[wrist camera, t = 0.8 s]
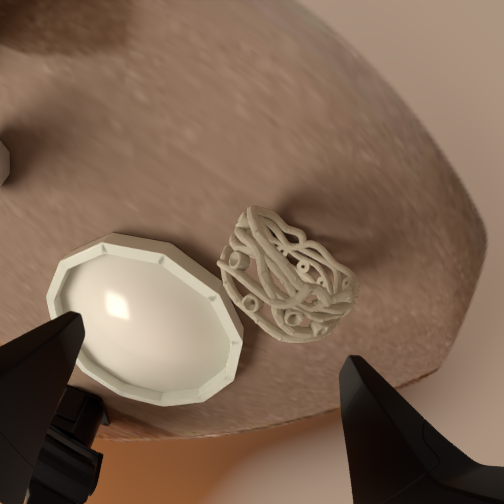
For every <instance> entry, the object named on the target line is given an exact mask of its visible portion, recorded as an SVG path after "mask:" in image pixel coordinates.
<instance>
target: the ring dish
mask: <svg viewBox="0 0 504 504" xmlns="http://www.w3.org/2000/svg"><path fill="white" fill-rule="evenodd" d="M46 299H47V304H48V308H49V312H50V317H51V320H52V319H54V318H56V317H58V316H60V315H62V314H64V313H66V312H68V311H75V312H78V313H80V314H81V315H82V319H83V323H84V328H85V338H84V341H83V344H82V346H81V349H80V352H79V355H78V358H77V361H76V364H77V365H78V366H79V368H80V369H81V370H82V371H83V372H84V373H86V374H87V375H89V376H90V377H92V378H93V379H95V380H96V381H98V382H99V383H101V384H102V385H104V386H106V387H107V388H109V389H110V390H112V391H114V392H115V393H117V394H119V395H120V396H123V397H127V398H131V399H134V400H138V401H142V402H146V403H150V404H154V405H159V406H173V405H183V404H191V403H199V402H204V401H206V400H207V399H208V398H210V397H211V396H213V395H214V394H216V393H217V392H218V391H220V390H221V389H223V388H224V387H225V386H227V385H228V384H229V383H231V382H232V381H234V377H235V373H236V369H237V365H238V361H239V356H240V352H241V348H242V344H243V331H244V327H243V325H242V323H241V321H240V319H239V317H238V315H237V313H236V311H235V308H234V306H233V304H232V302H231V300H230V298H229V296H228V293H227V291H226V289H225V287H224V286H223V283H222V281H221V280H220V279H218V278H217V277H216V276H214V275H213V274H212V273H210V272H209V271H207V270H206V269H205V268H203V267H202V266H201V265H199V264H198V263H197V262H195V261H194V260H193V259H191V258H190V257H189V256H187V255H186V254H185V253H183V252H182V251H181V250H179V249H178V248H177V247H175V246H174V245H173V244H171V243H168V242H162V241H157V240H151V239H145V238H140V237H134V236H129V235H123V234H118V233H110V234H108V235H106V236H104V237H101V238H99V239H97V240H95V241H93V242H90V243H88V244H86V245H84V246H82V247H79V248H77V249H75V250H73V251H71V252H70V253H69V254H68V255H67V256H65V257H64V258H63V259H62V260H61V261H60V263H59V265H58V268H57V270H56V273H55V275H54V278H53V280H52V283H51V285H50V288H49V291H48V293H47V296H46Z"/></svg>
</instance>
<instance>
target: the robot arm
mask: <svg viewBox="0 0 504 504" xmlns="http://www.w3.org/2000/svg"><path fill="white" fill-rule="evenodd" d="M84 338H85V328H84V323H83V319H82V315H81V314H80V313H78V312H75V311H68V312H66V313H64V314H62V315H60V316H58V317H56V318H54V319H52V320H51V321H49V322H47V323H45V324H43V325H41V326H39V327H37V328H35V329H33V330H31V331H29V332H27V333H25V334H23V335H21V336H20V337H18V338H16V339H14V340H12V341H10V342H8V343H6V344H4V345H2V346H1V347H0V502H1V503H2V504H23V503H24V500H25V496H26V498H27V500H26V503H25V504H84V503H85V502H86V501H87V498H88V496H91V495H92V493H93V492H94V490H95V488H96V486H97V483H98V478H99V473H100V469H101V464H102V459H103V454H101V453H98V452H96V451H95V450H93V449H91V447H92V444H93V441H94V438H95V436H96V433H97V431H98V428H99V426H100V424H102V425H105V426H109V425H110V422H109V419H108V416H107V412H106V409H105V406H104V403H103V400H102V399H101V398H100V397H97V396H94V395H91V394H88V393H85V392H83V391H80V390H77V389H74V388H72V387H69V386H66V385H67V383H68V381H69V379H70V377H71V374H72V372H73V369H74V366H75V363H76V361H77V358H78V355H79V352H80V349H81V346H82V344H83V341H84ZM339 384H340V402H341V417H342V424H343V429H344V436H345V443H346V450H347V457H348V463H349V471H350V479H351V487H352V495H353V504H504V467H499V466H487V465H482V464H479V463H477V462H475V461H473V460H472V459H471V458H469V457H468V456H467V455H466V454H464V453H463V452H462V451H461V450H459V449H458V448H457V447H456V446H454V445H453V444H452V443H451V442H450V441H448V440H447V439H446V438H445V437H444V436H442V435H441V434H440V433H439V432H438V431H437V430H436V429H435V428H434V427H433V426H432V425H431V424H430V423H429V422H428V421H426V420H425V419H424V418H423V417H422V416H421V415H420V414H419V413H418V412H417V411H416V410H415V409H414V408H413V407H412V406H411V405H410V404H409V403H408V402H407V401H406V400H405V399H404V398H403V397H402V396H401V395H400V394H399V393H398V392H397V391H396V390H395V389H394V388H393V387H392V386H391V385H390V384H389V383H388V382H387V381H386V380H385V379H384V378H383V377H382V376H381V375H380V374H379V373H378V372H377V371H376V370H375V369H374V368H373V367H372V366H371V365H370V364H369V363H368V362H367V361H366V360H365V359H363V358H362V357H361V356H359V355H349V356H348V357H347V359H346V361H345V363H344V365H343V367H342V369H341V371H340V374H339ZM61 397H62V398H61ZM60 399H61V400H60ZM59 401H60V402H59Z"/></svg>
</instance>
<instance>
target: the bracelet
mask: <svg viewBox="0 0 504 504" xmlns="http://www.w3.org/2000/svg"><path fill="white" fill-rule="evenodd" d="M272 220H273V221H274V222H275V223H274V222H273V221H272ZM267 227H268V228H270V229H271V230H272V231H273V232H274V233H275V235H276V236H277V238H278V239H277V238H275V237H273V236H272V234H271V233H270V231H269V229H268V228H267ZM282 231H284V232H285V233H288V234H292V235H295V236H297V237H298V238H299V243H290V242H289V241H288V240H287V239H286V237H285V235H284V234H283V232H282ZM251 233H252V234H253V237H254V238H255V239H254V238H253V237H252V236H250V234H251ZM240 241H242V242H243V243H244V244H241V243H240ZM229 244H230V245H226V246H225V247H224V249H223V251H222V254H221V256H220V260H218V261H217V265H218V266H219V267H220V268H221V274H222V280H223V286H224V287H225V289H226V291H227V293H228V295H229V297H230V298H231V299H232V301H233V302H234V304H236V305H237V306H238V307H239V308H240V309H242V310H243V311H244V312H245V313H246V314H247V315H248V316H249V317H251V318H252V319H253V320H254V321H255V323H256V324H258V325H259V326H260V327H261V328H262V329H263V330H264V331H266V332H267V333H268V334H270V335H271V336H273V337H274V338H276V339H278V340H279V341H284V342H293V343H304V342H310V341H318V340H320V339H322V338H324V337H326V336H327V335H330V334H332V331H333V330H334V328H335V327H336V326H337V325H338V324H339V320H340V317H343V316H346V315H347V314H348V313H349V312H350V310H351V309H352V308H353V306H354V304H355V299H356V298H357V297H358V296H357V295H358V292H359V287H360V285H359V283H358V280H357V277H356V276H355V274H354V273H353V272H352V271H351V269H349V268H348V267H346V266H344V265H342V264H340V263H338V262H337V261H336V260H335V259H334V258H333V257H332V256H331V255H330V253H329V252H328V251H327V250H326V248H325V247H324V246H323V245H321V244H320V243H318V242H316V241H313V240H307V238H306V235H305V233H304V232H303V231H302V230H300V229H298V228H296V227H292V226H289V225H287V224H286V223H285V222H284V221H283V220H282V219H281V217H280V216H279V215H278V214H277V213H275V212H273V211H271V210H268V209H266V208H263V207H259V206H257V205H254V204H253V205H251V206H250V207H248V208H247V214H246V213H242V214H241V216H240V217H239V219H238V221H237V223H236V226H235V230H234V232H233V233H232V234H231V237H230V242H229ZM275 244H277V245H276V246H275ZM308 247H311V248H314V249H316V250H318V251H319V252H320V253H321V254H322V256H321V255H320V254H318V253H316V252H314V251H312V250H310V249H308ZM280 250H284V251H283V252H281V251H280ZM295 250H298V251H300V252H302V253H304V254H306V255H308V256H310V257H312V258H313V259H315V260H317V261H319V262H320V263H322V264H324V265H326V266H327V267H329V268H330V269H331V270H332V271H333V274H334V288H333V287H332V282H331V279H329V277H328V275H327V273H326V271H325V270H324V269H323V268H322V266H321V265H320V264H319V263H318V262H316V261H314V260H312V259H310V258H307V257H304V256H302V255H300V254H299V253H298V252H296V251H295ZM288 253H290V254H291V255H292V256H294V257H295V258H296V259H298V260H300V261H299V262H298V264H297V267H296V266H294V265H293V264H291V263H290V262H289V261H288V260H287V258H286V256H287V254H288ZM249 257H251V258H254V259H256V262H257V270H258V276H259V278H260V281H261V284H262V286H261V285H260V284H259V283H258V282H256V281H255V280H254V279H253V278H251V277H250V276H249V275H248V274H246V273H245V272H244V271H243V270H246V269H247V268H248V267H249V264H250V258H249ZM302 265H305V268H303V267H302ZM311 265H312V266H313V267H315V268H316V270H317V271H318V272H319V273H320V275H321V276H322V277H319V278H318V280H317V281H316V280H315V279H314V278H313V277H312V276H311V275H310V274H309V273H307V271H309V270H310V268H311ZM270 270H271V271H272V272H273V273H274V274H275V275H276V276H277V278H278V279H279V280H280V282H281V283H282V284H283V286H284V287H285V288H286V291H287V293H288V295H287V294H286V293H284V292H283V291H281V290H280V289H279V288H278V287H277V286H276V284H275V283H274V281H273V279H272V277H271V275H270ZM341 272H343V273H344V274H345V275H347V277H346V278H345V279H344V281H343V283H342V279H343V278H342V276H341ZM232 276H234V277H235V278H236V279H237V280H238V281H239V282H240V283H242V284H243V285H244V286H245V287H246V288H248V289H249V290H250V291H251V293H250V294H248V295H247V296H245V297H243V296H242V295H241V294H240V293H239V292H238V290H237V288H236V286H235V284H234V282H233V279H232ZM341 285H342V288H343V289H345V290H344V291H341ZM310 294H314V295H317V297H318V300H317V299H315V300H313V301H312V303H307V302H305V301H304V300H305V299H306V298H308V296H309V295H310ZM254 301H255V303H254ZM264 302H265V303H267V304H268V305H270V306H271V309H272V314H273V317H274V319H275V321H276V323H277V324H278V326H279V327H280V328H281V329H280V328H278V327H277V326H275V325H274V324H272V323H271V322H270V321H269V320H268V319H267V318H266V317H265V316H264V315H262V314H261V313H260V312H259V311H258V310H259V309H260V308H262V306H263V304H264ZM283 309H284V311H283ZM315 311H322V312H315ZM303 316H305V317H307V318H309V319H311V320H312V321H311V322H310V324H309V327H300V326H297V325H299V324H300V323H302V321H303Z"/></svg>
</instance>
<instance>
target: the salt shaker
mask: <svg viewBox="0 0 504 504" xmlns="http://www.w3.org/2000/svg"><path fill="white" fill-rule="evenodd" d="M9 174H10V152H9V151H8V150H7V148H6V147H5V145H4V144H3V143H2V141H1V140H0V187H1V186H2V184H3V182H4V181H5V179H6V178H7V177H8V175H9Z"/></svg>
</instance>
